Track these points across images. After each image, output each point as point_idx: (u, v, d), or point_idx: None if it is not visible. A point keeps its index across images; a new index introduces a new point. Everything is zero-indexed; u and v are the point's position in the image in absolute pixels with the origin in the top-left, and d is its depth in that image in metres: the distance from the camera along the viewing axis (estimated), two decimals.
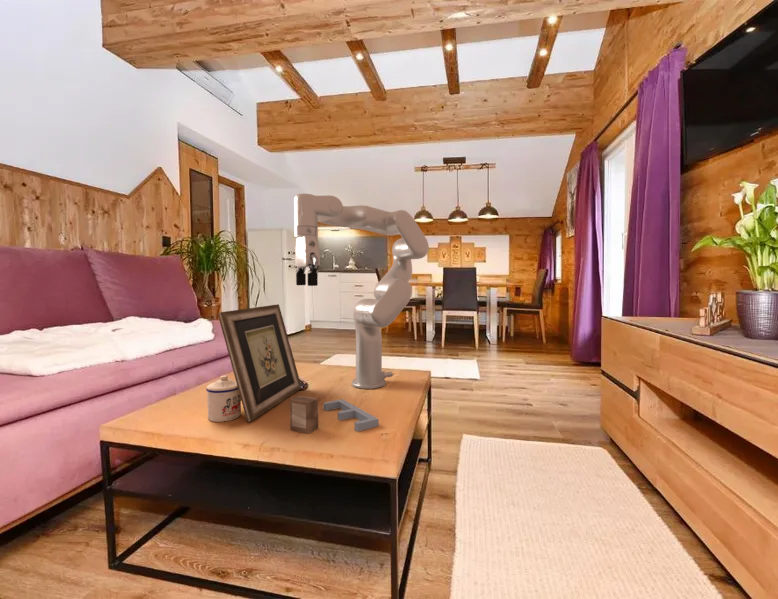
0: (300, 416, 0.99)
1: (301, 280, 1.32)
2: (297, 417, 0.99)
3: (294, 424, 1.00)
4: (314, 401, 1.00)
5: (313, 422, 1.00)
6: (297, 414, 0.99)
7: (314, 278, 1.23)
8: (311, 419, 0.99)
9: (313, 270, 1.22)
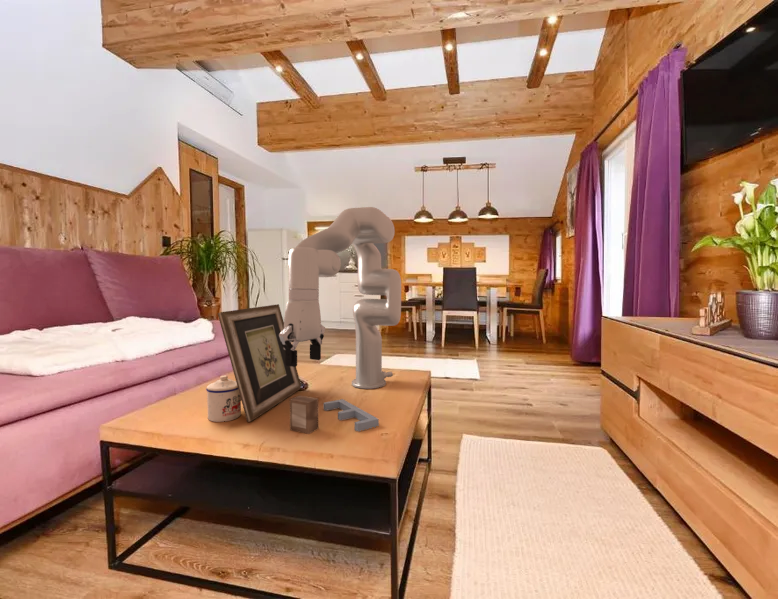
0: (300, 416, 0.99)
1: None
2: (297, 417, 0.99)
3: (294, 424, 1.00)
4: (314, 401, 1.00)
5: (313, 422, 1.00)
6: (297, 414, 0.99)
7: None
8: (311, 419, 0.99)
9: None
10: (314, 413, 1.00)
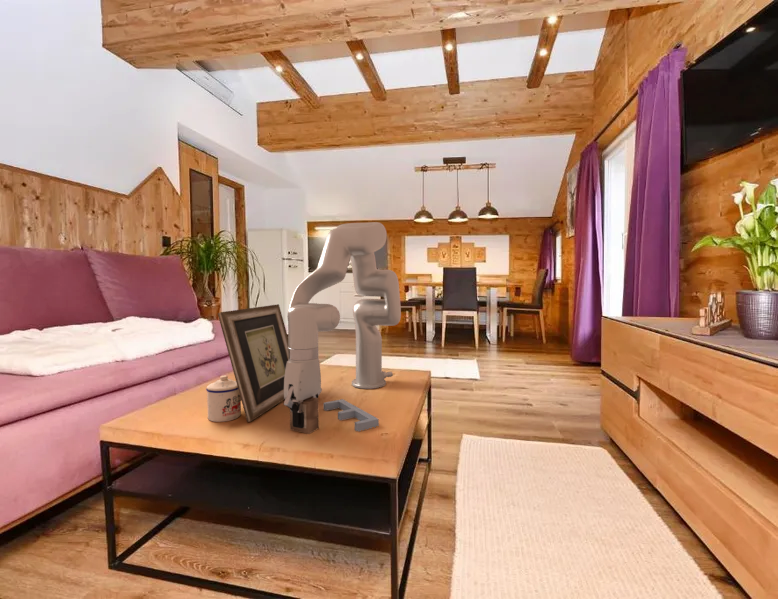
0: None
1: None
2: None
3: None
4: (315, 401, 1.00)
5: (313, 421, 1.00)
6: None
7: None
8: (311, 419, 0.99)
9: None
10: (314, 413, 1.00)
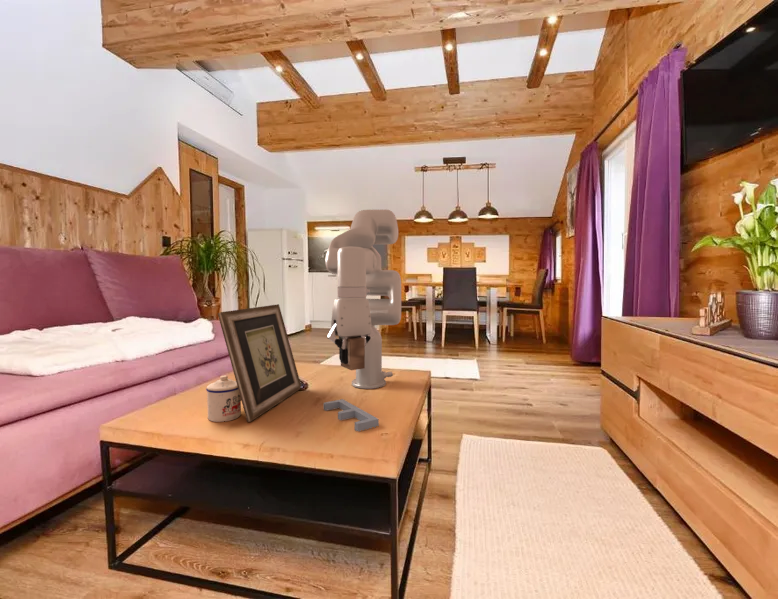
0: None
1: None
2: None
3: None
4: (359, 340, 1.02)
5: (357, 360, 1.02)
6: None
7: None
8: (354, 356, 1.01)
9: None
10: (359, 352, 1.02)
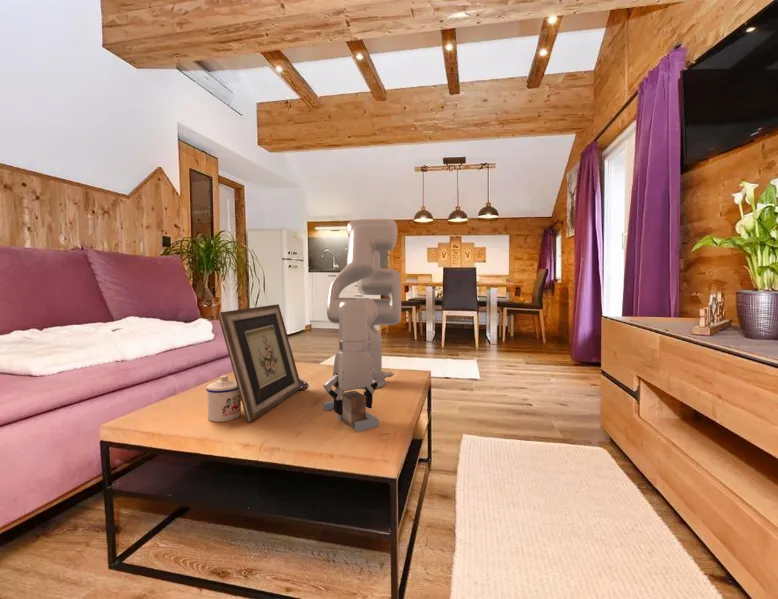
0: (347, 410, 1.03)
1: None
2: (346, 410, 1.04)
3: (344, 417, 1.05)
4: (361, 398, 1.03)
5: (359, 418, 1.03)
6: (346, 408, 1.04)
7: None
8: (355, 414, 1.02)
9: None
10: (360, 409, 1.03)
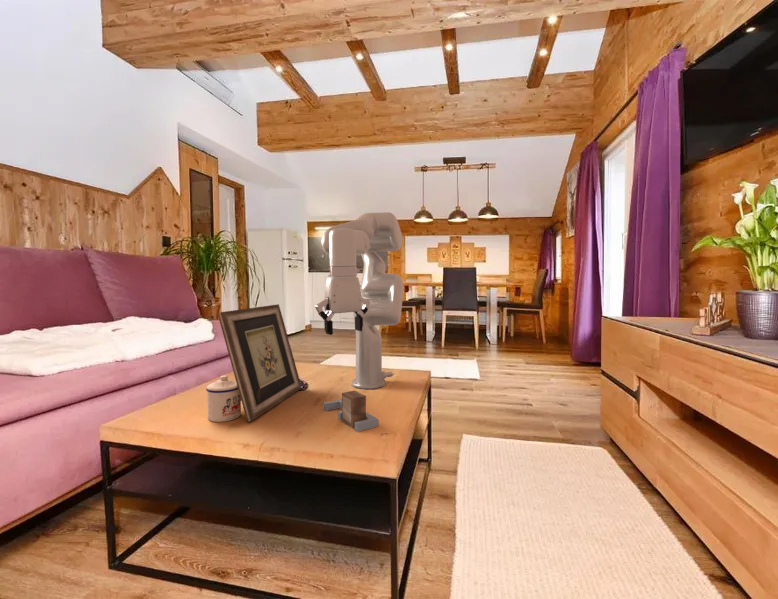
0: (347, 410, 1.03)
1: None
2: (346, 410, 1.04)
3: (344, 417, 1.05)
4: (361, 398, 1.03)
5: (359, 418, 1.03)
6: (346, 408, 1.04)
7: None
8: (355, 414, 1.02)
9: None
10: (360, 409, 1.03)
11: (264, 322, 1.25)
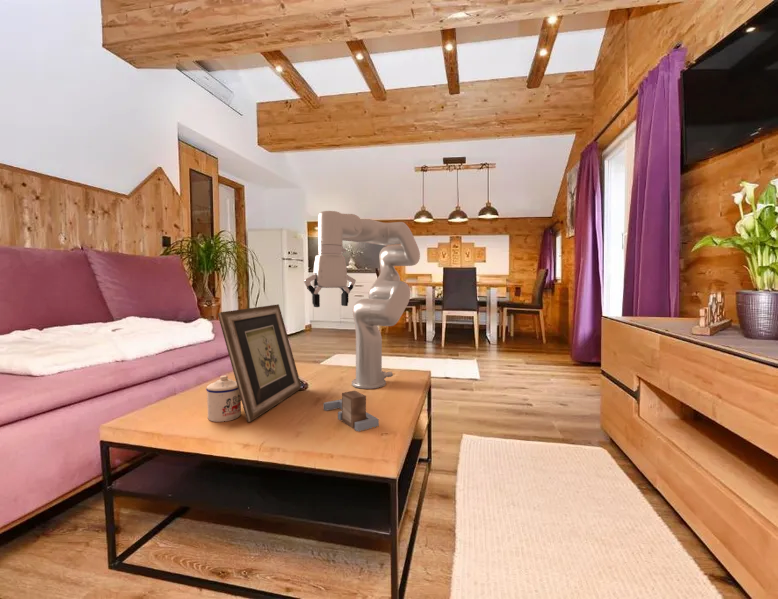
0: (347, 410, 1.03)
1: None
2: (346, 410, 1.04)
3: (344, 417, 1.05)
4: (361, 398, 1.03)
5: (359, 418, 1.03)
6: (346, 408, 1.04)
7: None
8: (355, 414, 1.02)
9: None
10: (360, 409, 1.03)
11: (264, 322, 1.25)
